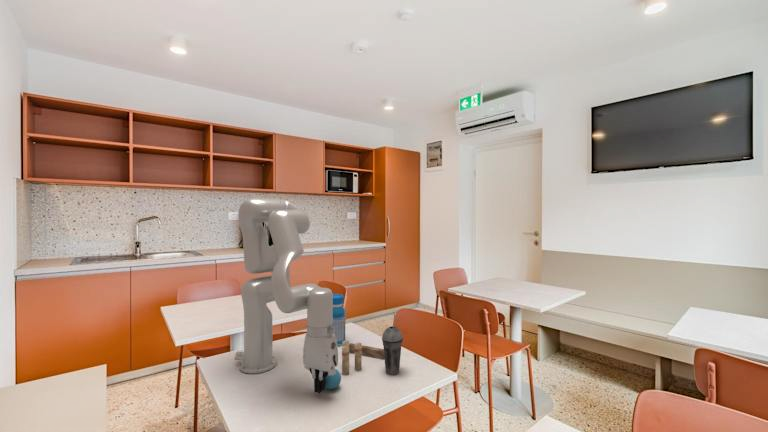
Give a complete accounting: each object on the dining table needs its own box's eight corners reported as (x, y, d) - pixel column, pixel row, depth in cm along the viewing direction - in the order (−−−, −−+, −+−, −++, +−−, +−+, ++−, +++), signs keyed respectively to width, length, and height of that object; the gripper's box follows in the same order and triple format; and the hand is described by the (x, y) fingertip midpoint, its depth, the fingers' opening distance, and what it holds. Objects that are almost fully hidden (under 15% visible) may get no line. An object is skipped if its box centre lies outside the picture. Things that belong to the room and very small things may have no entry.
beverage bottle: (336, 348, 135) (336, 299, 135) (321, 344, 140) (321, 296, 140) (349, 341, 142) (349, 295, 142) (334, 337, 147) (334, 292, 147)
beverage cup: (377, 372, 115) (377, 314, 115) (391, 365, 120) (391, 310, 120) (393, 379, 110) (393, 319, 110) (407, 371, 115) (407, 314, 115)
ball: (325, 362, 105) (336, 365, 109) (314, 380, 103) (325, 382, 108) (337, 374, 101) (348, 377, 105) (325, 392, 100) (337, 394, 104)
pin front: (341, 375, 113) (341, 348, 113) (343, 371, 115) (343, 345, 115) (348, 375, 112) (348, 349, 112) (350, 372, 115) (350, 346, 115)
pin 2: (353, 370, 116) (353, 345, 116) (355, 367, 118) (355, 342, 118) (360, 371, 115) (360, 345, 115) (362, 368, 118) (362, 342, 118)
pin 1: (341, 368, 118) (341, 342, 118) (343, 365, 120) (343, 340, 120) (348, 368, 117) (348, 343, 117) (350, 365, 120) (350, 340, 120)
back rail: (387, 357, 126) (387, 349, 126) (385, 359, 125) (385, 351, 125) (350, 350, 133) (350, 343, 133) (347, 352, 131) (347, 344, 131)
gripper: (347, 329, 100) (347, 390, 100) (307, 322, 107) (307, 379, 107) (333, 338, 93) (333, 403, 93) (291, 330, 100) (291, 391, 100)
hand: (319, 390), depth 100 cm, fingers closed
